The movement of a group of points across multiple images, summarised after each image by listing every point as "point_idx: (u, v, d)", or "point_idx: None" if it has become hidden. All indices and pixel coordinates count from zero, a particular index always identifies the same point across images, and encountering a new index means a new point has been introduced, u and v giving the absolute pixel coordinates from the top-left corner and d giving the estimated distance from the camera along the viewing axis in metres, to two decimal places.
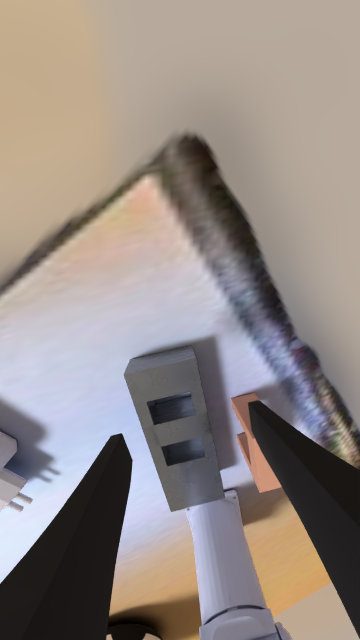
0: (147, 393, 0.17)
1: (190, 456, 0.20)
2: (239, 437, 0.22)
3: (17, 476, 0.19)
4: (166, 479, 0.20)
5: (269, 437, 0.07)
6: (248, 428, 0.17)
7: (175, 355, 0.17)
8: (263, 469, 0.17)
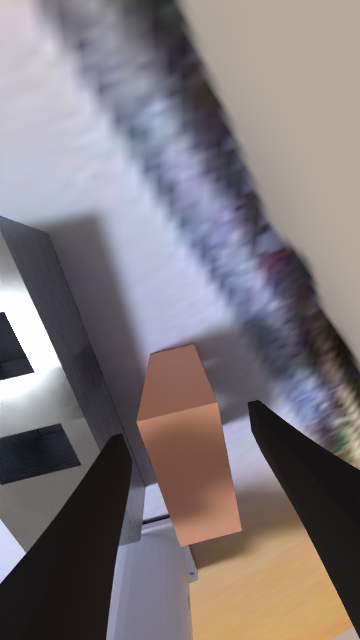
0: None
1: (57, 463, 0.10)
2: None
3: None
4: (7, 510, 0.10)
5: (269, 437, 0.07)
6: (143, 399, 0.07)
7: None
8: (179, 497, 0.07)
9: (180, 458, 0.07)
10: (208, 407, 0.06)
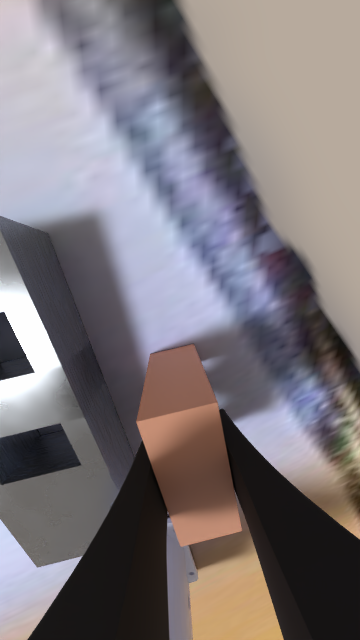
0: None
1: (57, 463, 0.10)
2: None
3: None
4: (7, 510, 0.10)
5: None
6: (143, 399, 0.07)
7: None
8: (179, 497, 0.07)
9: (180, 458, 0.07)
10: (208, 407, 0.06)
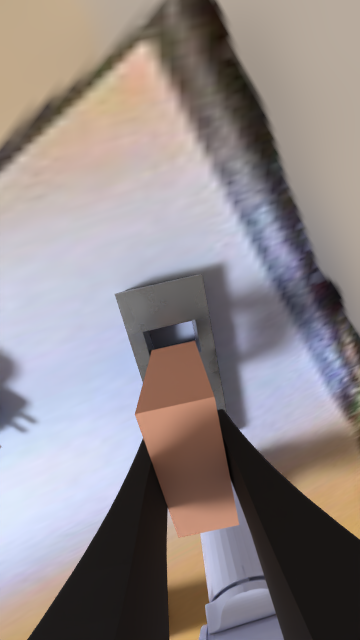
0: (143, 320, 0.14)
1: None
2: None
3: None
4: None
5: (225, 449, 0.07)
6: (143, 393, 0.07)
7: (176, 279, 0.15)
8: (177, 489, 0.07)
9: (178, 451, 0.07)
10: (205, 401, 0.06)
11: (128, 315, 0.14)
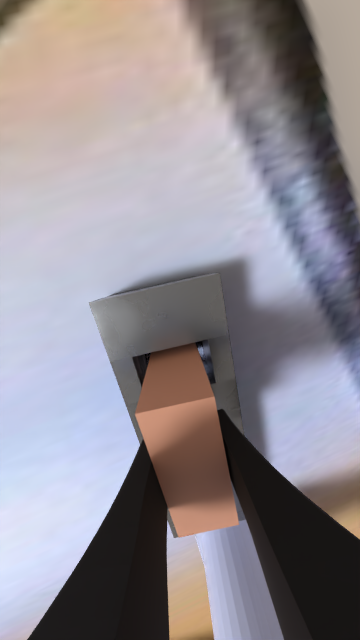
0: (133, 341, 0.09)
1: None
2: None
3: None
4: None
5: (225, 449, 0.07)
6: (143, 393, 0.07)
7: (181, 280, 0.10)
8: (177, 489, 0.07)
9: (178, 450, 0.07)
10: (205, 401, 0.06)
11: (110, 333, 0.09)
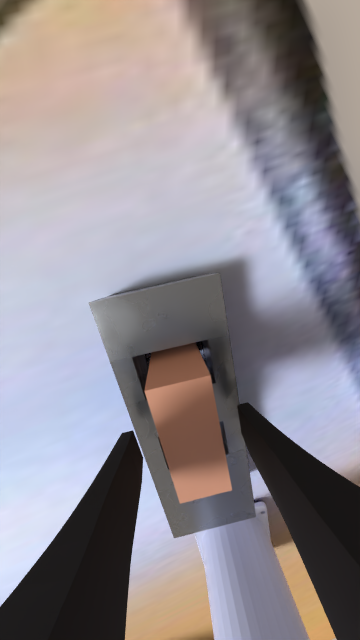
0: (133, 341, 0.09)
1: None
2: None
3: None
4: (166, 489, 0.12)
5: (256, 441, 0.07)
6: (149, 376, 0.09)
7: (181, 280, 0.10)
8: (179, 458, 0.09)
9: (180, 423, 0.08)
10: (203, 379, 0.08)
11: (110, 333, 0.09)
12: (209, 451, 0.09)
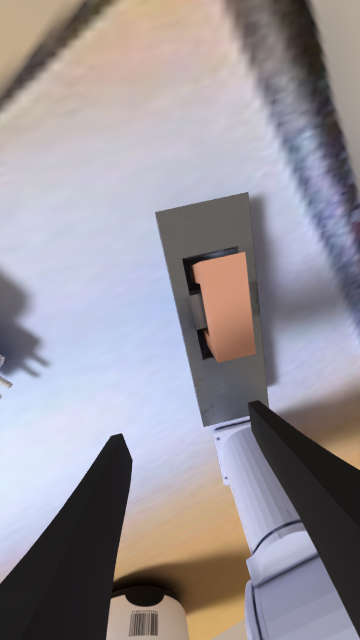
0: (184, 245, 0.13)
1: None
2: None
3: None
4: (200, 379, 0.16)
5: (269, 437, 0.07)
6: (199, 262, 0.12)
7: None
8: (220, 321, 0.12)
9: (222, 290, 0.12)
10: (239, 255, 0.11)
11: (168, 238, 0.13)
12: (241, 317, 0.12)
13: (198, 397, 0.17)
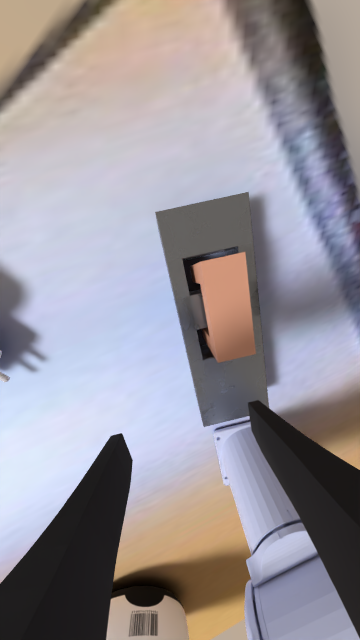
0: (184, 245, 0.13)
1: None
2: None
3: None
4: (200, 379, 0.16)
5: (269, 437, 0.07)
6: (199, 262, 0.12)
7: None
8: (220, 321, 0.12)
9: (222, 290, 0.12)
10: (239, 255, 0.11)
11: (168, 238, 0.13)
12: (241, 317, 0.12)
13: (198, 397, 0.17)
